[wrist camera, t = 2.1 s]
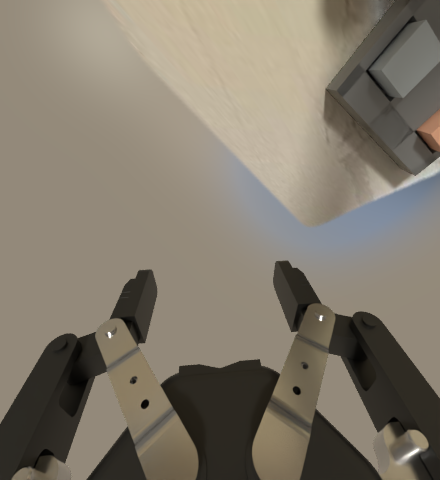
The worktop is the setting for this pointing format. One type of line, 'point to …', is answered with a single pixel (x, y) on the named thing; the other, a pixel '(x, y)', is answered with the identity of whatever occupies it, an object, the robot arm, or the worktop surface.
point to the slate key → (407, 59)
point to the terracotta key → (431, 131)
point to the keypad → (386, 107)
